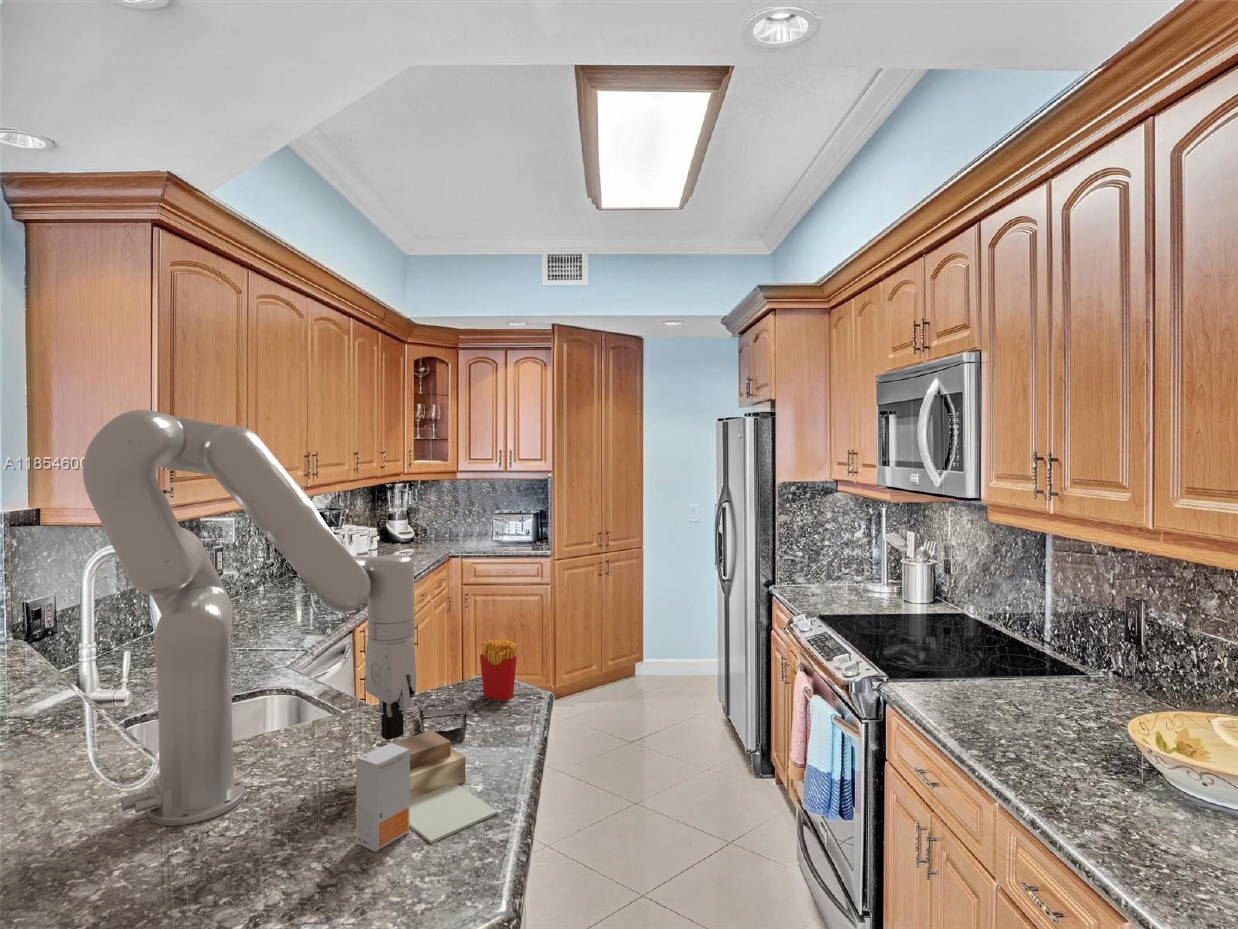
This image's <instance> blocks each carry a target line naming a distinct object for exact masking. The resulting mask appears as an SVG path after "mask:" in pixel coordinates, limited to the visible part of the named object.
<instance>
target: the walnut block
mask: <svg viewBox="0 0 1238 929" xmlns="http://www.w3.org/2000/svg"><path fill="white" fill-rule="evenodd" d="M434 731H435V730H434ZM434 731H433V730H429V731H427V732H426V731H425V733H423V732H422V733H419V734H416V735H413V736H410V737H406V738H403V739H400V740H398V741H394V742H392V743H393V744H396V745H398V746H401V747H404V748H407V749H410V770H412V769H415V768H418V767H420V766H423V765H426V764H429V763H432V762H434V761H437V760H440V759H443V758H446V757H449V756H451V749H452V747H451V745H452V743H451V740H450V739H449V740H448V739H446V738H444V737H442V736H441V735H439V734H437V733H436V732H434ZM385 745H386V744H385ZM385 745H381V746H380V747H383V746H385Z"/></svg>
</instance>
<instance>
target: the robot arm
mask: <svg viewBox="0 0 1238 929" xmlns="http://www.w3.org/2000/svg"><path fill="white" fill-rule="evenodd" d="M82 463H83V464H82V478H83V483H84V484H83V485H84V488H85V491H86V494H87V496H88V499H89V502H91V504H92V507H93V509H94V511H95V513H96V515H97V517H98V519H99V521H100V523H101V525H102V527H103V529H104V532H105V534H106V536H107V538H108V540H109V543H111V546H112V548H113V550H114V552H115V554H116V556H117V558H118V559H119V562H120V564H121V566H122V568H123V570H124V573H125V575H126V577H127V579H128V581H129V582H130V584H131V585H132V586H133V587H134V588H135V589H136V591H139V592H140V593H143V594H145V595H148V596H151V597H152V599H153V601H154V603H155V605H156V607H157V608H158V611H159V612H160V614H161V616H160V617H159V620H158V622H157V624H156V628H155V632H154V640H153V641H154V642H153V649H154V660H155V670H156V680H157V681H156V684H157V686H156V687H157V715H158V755H159V756H158V758H159V768H158V769H159V777H158V778H155V779H153V785H152V786H149V787H147V788H146V790H145V791H141V792H138V793H136V792H135V793H131V794H130V795H125V796H122V797H120V808H121V812H124V811H125V812H126V811H128V810H132V809H134V812H135V814H137V813H141V812H144V811H147V818H148V819H149V820H150V821H151V822H152V823H155V824H158V825H161V826H182V825H183V826H184V825H190V824H197V823H200V822H202V821H207V820H209V819H213V818H216V817H218V816H221V815H222V814H225V813H226V812H229V811H230V810H231V809H233V808H235V807H236V806H237V805H238V804H240V802H241V801H242V800H243V799H244V797H245V794H246V790H245V789H246V788H245V784H244V783H243V782H242V781H241V780H239V779H236V778H234V750H233V749H234V748H233V747H234V746H233V742H234V741H233V740H234V739H233V737H234V736H233V696H232V693H233V692H232V661H231V660H232V658H231V652H232V651H231V641H232V640H231V638H232V626H233V620H234V619H233V618H234V609H233V608H234V607H233V604H232V601H231V599H230V596H229V594H228V592H227V590H226V588H225V586H224V584H223V582H222V580H221V578H220V576H219V574H218V572H217V570H216V568H215V565H214V564H213V562H212V559H211V558H210V555H209V554H208V551H207V549H206V548H205V546H204V544H203V543H202V541H201V540H200V538H199V537H198V536H197V535H196V534H195V533H194V532H193V531H190V530H189V529H187V528H186V527H185V528H184V527H181V525H180V523H179V521H178V518H176V515H175V514H174V512H173V510H172V507H171V505H170V502H169V500H168V498H167V496H166V494H165V493H164V491H163V490H162V487H161V486H160V483H159V482H158V476H157V472H158V469H159V468H160V469H161V468H162V469H169V470H174V471H180V472H181V471H182V472H187V473H195V474H202V475H208V476H213V478H214V479H215V480H216V481H217V482H218V484H220V486H221V487H222V488H223V490H225V491H226V493H228V494H229V496H231V498H232V499H233V500H234V501H235V502H236V503H237V505H238V506H239V507H240V509H242V510H243V512H244V513H245V514H246V515H247V516H248V518H249V519H250V520H251V522H252V523H253V524H254V525H255V526H256V527H257V528H258V529H259V531H260V532H261V533H262V534H263V535H264V537H265V538H266V539H267V540H268V542H269V543H270V544H271V546H273V547H274V548H275V549H276V550H277V551H278V552H279V553H280V554H281V555H282V556H283V557H284V559H285V560H286V561H287V562H288V563H289V565H290V566H291V567H292V568H293V570H294V571H295V572H296V573H297V574H298V576H299V577H301V579H302V580H303V581H304V582H305V583H306V585H307V586H308V587H309V588H310V590H312V591H313V593H314V594H315V595H316V596H317V597H318V598H319V599H320V601H321V602H322V603H323V604H324V605H325V606H327V608H329V609H331V610H334V611H336V612H342V613H344V612H345V613H346V612H351V611H354V610H356V609H358V608H360V607H362V606H363V604H365V603H366V602H367V642H366V650H365V664H364V666H365V668H364V690H365V691H366V692H367V693H368V694H370V695H371V696H373V697H375V698H377V699H378V703H379V704H378V705H379V712H380V714H381V715H380V720H381V721H380V728H381V729H380V730H381V731H380V732H381V734H380V735H381V738H383V739H384V740H385V741H390V740H394V739H396V738H397V739H398V738H400V737H402V736H404V714H405V712H406V710H409V709H411V707H412V705H411V699H412V698H413V699H414V697H415V696H416V693H417V665H416V664H417V663H416V653H415V644H414V638H415V636H416V633H415V631H416V630H415V624H416V623H415V563H414V560H413V559H412V558H411V557H410V556H408V555H406V554H384V555H383V554H382V555H378V556H373V557H372V556H371V557H370V556H354V555H352V554H351V552H349V551H348V549H347V548H346V547H345V545H344V544H342V542H341V541H340V540H339V538H338V537H337V536H336V535H335V533H334V532H333V531H332V530H331V529H330V527H329V526H328V524H327V523H326V521H325V520H324V519H323V517H322V515H321V514H320V511H319V510H318V508H317V507H316V505H315V504H314V502H313V501H312V499H311V498H310V496H308V494H307V493H306V492H305V491H304V490H303V488H302V487H301V486H300V485H299V484H298V483H297V481H295V479H294V478H293V477H292V475H291V474H290V473H289V471H287V469H286V468H285V467H284V466H283V465H282V463H280V461H279V460H278V459H277V457H276V456H275V455H274V454H273V453H272V451H271V450H270V449H269V448H268V447H267V445H266V444H265V443H264V442H263V441H262V439H261V438H260V437H259V435H257V434H256V433H255V432H254V431H253V430H251V429H249V428H246V427H244V426H240V425H228V424H227V425H226V424H220V423H214V422H207V421H202V420H196V419H192V418H186V417H181V416H176V415H172V414H167V413H163V412H158V411H156V410H150V409H134V410H129V411H126V412H124V413H121V414H119V415H117V416H115V417H114V418H112V419H111V420H110V421H108V422H106V424H105V425H104V426H103V427H101V429H100V430H99V431H98V432H97V433H96V435H95V436H94V437H93V438H92V440H91V442H90V443H89V444H88V447H87V448H86V452H85V455H84V459H83V462H82Z"/></svg>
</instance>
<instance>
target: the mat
mask: <svg viewBox="0 0 1238 929" xmlns="http://www.w3.org/2000/svg"><path fill="white" fill-rule="evenodd" d="M498 814H499V812H498V810H497V809H495V808H494V807H492V806H491V805H489V804H488V803H486V801H485V802H484V801H483V800H482V799H480V798H479V797H477V796H475V795H474V794H473V793H471V792H470V791H469V790H467V789H464V788H463V787H462V786H460V785H459V784H456V783H453V784H451V785H448V786H445V787H443V788H440V789H438V790H435V791H432V792H430V793H427V794H425V795H422V796H420V797H417V798H414V799H412V800H410V818H409V828H411V829H412V830H413V831H415V833H417V834H418V835H419V836H421V837H422V838H424V840H426V841H427V842H428V843H429V844H432V843H436V842H437V841H439V840H441V839H444V838H446V837H448V836H452V835H453V834H455V833H457V832H460V831H463V830H466V829H467V828H468V827H471V826H474V825H475V824H479V823H480V822H482V821H485V820H487V819H489V818H491V817H493V816H496V815H498Z"/></svg>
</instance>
